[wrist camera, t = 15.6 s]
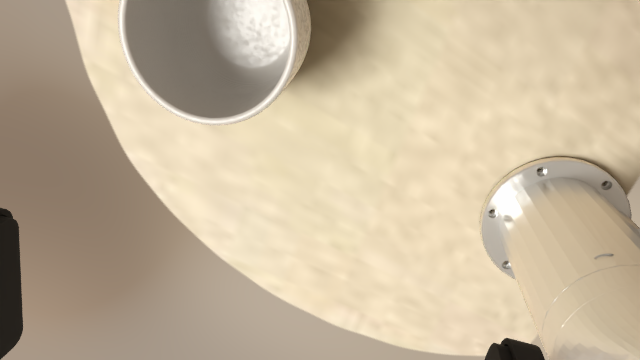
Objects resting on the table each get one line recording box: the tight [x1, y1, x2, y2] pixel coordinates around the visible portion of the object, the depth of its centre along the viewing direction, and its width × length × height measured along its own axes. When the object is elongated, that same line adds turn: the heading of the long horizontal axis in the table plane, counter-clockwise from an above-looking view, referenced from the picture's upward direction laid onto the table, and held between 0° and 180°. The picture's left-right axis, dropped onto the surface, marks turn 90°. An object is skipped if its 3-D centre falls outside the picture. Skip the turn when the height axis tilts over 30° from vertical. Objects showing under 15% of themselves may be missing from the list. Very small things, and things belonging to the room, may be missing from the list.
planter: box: [118, 0, 311, 125], centre depth 38 cm, size 12×12×11 cm
